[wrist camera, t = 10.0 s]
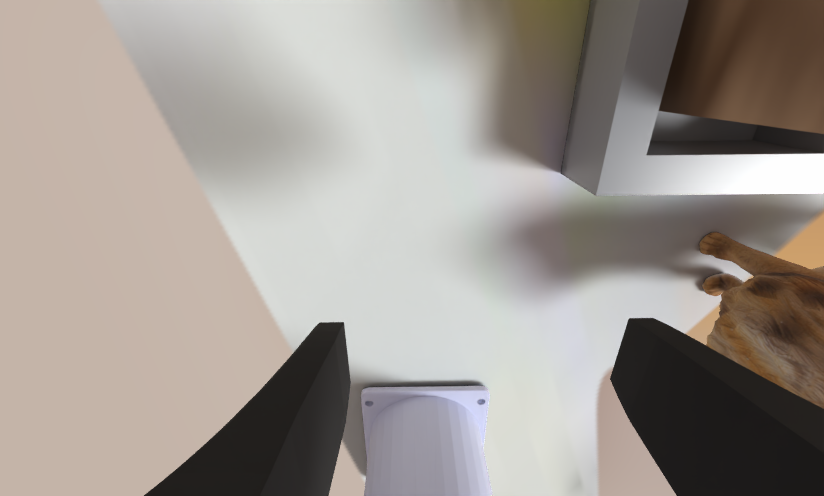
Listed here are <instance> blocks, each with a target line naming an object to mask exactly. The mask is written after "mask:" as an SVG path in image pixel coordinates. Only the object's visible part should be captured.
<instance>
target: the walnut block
mask: <svg viewBox="0 0 824 496" xmlns="http://www.w3.org/2000/svg"><path fill="white" fill-rule="evenodd" d="M659 111H662V112H669V113H676V114H684V115H691V116H698V117H705V118H712V119H720V120H727V121H734V122H741V123H748V124H756V125H763V126H770V127H777V128H784V129H792V130H799V131H806V132H813V133H820V134H824V0H689V1H688V4H687V8H686V12H685V15H684V19H683V23H682V26H681V30H680V34H679V37H678V41H677V45H676V48H675V52H674V56H673V59H672V63H671V67H670V70H669V74H668V78H667V81H666V85H665V89H664V92H663V96H662V100H661V103H660V107H659Z"/></svg>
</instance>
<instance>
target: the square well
mask: <svg viewBox="0 0 824 496" xmlns="http://www.w3.org/2000/svg"><path fill="white" fill-rule="evenodd" d="M688 1H689V0H591V1H590V7H589V13H588V18H587V24H586V30H585V36H584V41H583V47H582V53H581V59H580V64H579V70H578V76H577V82H576V87H575V93H574V99H573V105H572V110H571V116H570V122H569V128H568V133H567V139H566V145H565V151H564V156H563V162H562V168H561V174H562V175H564V176H566V177H567V178H569V179H570V180H572V181H573V182H575V183H577V184H578V185H580V186H581V187H583V188H584V189H586V190H588V191H589V192H591V193H592V194H594V195H596V196H630V195H720V194H809V193H824V134H820V133H813V132H806V131H799V130H792V129H784V128H777V127H770V126H763V125H756V124H748V123H741V122H734V121H727V120H720V119H712V118H705V117H698V116H691V115H684V114H676V113H669V112H662V111H659V107H660V103H661V100H662V96H663V92H664V89H665V85H666V81H667V78H668V74H669V70H670V67H671V63H672V59H673V56H674V52H675V48H676V45H677V41H678V37H679V34H680V30H681V26H682V23H683V19H684V15H685V12H686V8H687V4H688Z"/></svg>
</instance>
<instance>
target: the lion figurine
mask: <svg viewBox="0 0 824 496" xmlns="http://www.w3.org/2000/svg"><path fill="white" fill-rule="evenodd" d="M699 247H700V252H701V253H703V254H706V255H713V256H714V257H716V258H719V259H723V260H728V261H732V262H734V263H736V264H737V265H739V266H740V267H741V268H743V269H744V270H746V271H747V272H749V273H750V274H752V275H753V276H754V277H753V278H752V279H749V280H747V281H746V282H745V283H744V282H743V281H741V280H740V279H738V278H737V277H735V276H733V275H730V274H716V275H712V276H710V277H708V278H707V279H705V281H704V283H703V285H702V287H703V289H704V290H705V292H706V293H707V294H709V295H713V296H718V295H720V294H721V293H722V294H721V297H722V301H721V302H720V312H719V315H720V318H718V320H716V321H715V325H714V328H713V331H712V332H711V334H710V335H708V336H707V345H706V346H708V347H709V348H711V349H713V350H715V351H717V352H718V353H720V354H722V355H724V356H726V357H727V358H729V359H731V360H733V361H735V362H736V363H738V364H740V365H742V366H744V367H746V368H747V369H749V370H751V371H753V372H755V373H756V374H758V375H760V376H762V377H764V378H766V379H768V380H769V381H771V382H773V383H775V384H777V385H779V386H781V387H783V388H784V389H786V390H788V391H790V392H792V393H794V394H796V395H798V396H800V397H802V398H804V399H806V400H808V401H810V402H812V403H814V404H816V405H817V406H819V407H821V408H823V409H824V266H823V267H819V268H815V269H807V268H806V267H803V266H800V265H797V264H794V263H791V262H788V261H785V260H782V259H779V258H777V257H774V256H771V255H769V254H766V253H764V252H761V251H758V250H755V249H752V248H750V247H747V246H745V245H743V244H741V243H738V242H736V241H734V240H732V239H731V238H729V237H727V236H725V235H723V234H721V233H718V232H713V233H709V234H708V235H706V236H705V237H704V238H703V239H702V240H701V242H700V244H699Z"/></svg>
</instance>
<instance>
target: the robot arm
mask: <svg viewBox="0 0 824 496" xmlns="http://www.w3.org/2000/svg"><path fill="white" fill-rule="evenodd" d="M610 380H611V382H612V384H613V387H614V389H615V391H616V393H617V396H618V398H619V400H620V402H621V404H622V406H623V408H624V410H625V412H626V414H627V416H628V418H629V420H630V422H631V423H632V425H633V427H634V428H635V430H636V431H637V433H638V435H639V436H640V438H641V439H642V441H643V443H644V444H645V446H646V448H647V449H648V451H649V453H650V454H651V456H652V457H653V459H654V460H655V462H656V464H657V465H658V467H659V468H660V470H661V471H662V473H663V475H664V476H665V478H666V479H667V481H668V483H669V484H670V486H671V487H672V489H673V490H674V492H675V493H676V495H677V496H824V409H823V408H821V407H819V406H817V405H816V404H814V403H812V402H810V401H808V400H806V399H804V398H802V397H800V396H798V395H796V394H794V393H792V392H790V391H788V390H786V389H784V388H783V387H781V386H779V385H777V384H775V383H773V382H771V381H769V380H768V379H766V378H764V377H762V376H760V375H758V374H756V373H755V372H753V371H751V370H749V369H747V368H746V367H744V366H742V365H740V364H738V363H736V362H735V361H733V360H731V359H729V358H727V357H726V356H724V355H722V354H720V353H718V352H717V351H715V350H713V349H711V348H709V347H708V346H706V345H704V344H702V343H700V342H699V341H697V340H695V339H693V338H691V337H689V336H688V335H686V334H684V333H682V332H680V331H678V330H676V329H674V328H673V327H671V326H669V325H667V324H665V323H663V322H660V321H658V320H656V319H654V318H629V320H628V323H627V326H626V330H625V333H624V336H623V339H622V342H621V346H620V349H619V352H618V355H617V358H616V361H615V365H614V368H613V371H612V374H611V378H610ZM350 383H351V382H350V373H349V364H348V355H347V346H346V338H345V329H344V322H330V323H319V324H318V325H317V326H316V327H315V328H314V329H313V330H312V331H311V333H310V334H309V335H308V336H307V337H306V339H305V340H304V341H303V342H302V343H301V345H300V346H299V347H298V348H297V349H296V351H295V352H294V353H293V354H292V355H291V356H290V358H289V359H288V360H287V361H286V362H285V363H284V364H283V366H282V367H281V368H280V369H279V370H278V371H277V372H276V373H275V374H274V376H273V377H272V378H271V379H270V380H269V381H268V382H267V383H266V384H265V386H264V387H263V388H262V389H261V390H260V391H259V392H258V393H257V394H256V395H255V396H254V397H253V398H252V399H251V400H250V401H249V402H248V403H247V404H246V405H245V406H244V407H243V408H242V409H241V410H240V411H239V412H238V413H237V414H236V415H235V416H234V417H233V418H232V419H231V420H230V421H229V422H228V423H227V424H226V425H225V426H224V427H223V428H222V429H221V430H220V431H219V432H218V433H217V434H216V435H215V436H213V437H212V438H211V439H210V440H209V441H208V442H207V443H206V444H205V445H204V446H203V447H201V448H200V449H199V450H198V451H197V452H196V453H195V454H194V455H192V456H191V457H190V458H189V459H188V460H187V461H186V462H184V463H183V464H182V465H181V466H180V467H179V468H177V469H176V470H175V471H174V472H173V473H171V474H170V475H169V476H168V477H167V478H165V479H164V480H163V481H162V482H160V483H159V484H158V485H157V486H156V487H154V488H153V489H152V490H150V491H149V492H148V493H147V494H145V495H144V496H328V495H329V491H330V487H331V482H332V478H333V474H334V470H335V466H336V461H337V457H338V453H339V449H340V444H341V440H342V436H343V432H344V427H345V423H346V416H347V408H348V400H349V392H350ZM489 397H490V394H489V390H488V388H487V387H485V386H435V387H369V388H365V389H363V390H362V393H361V405H362V415H363V425H364V435H365V446H366V456H367V472H366V482H365V492H364V496H493V493H492V488H491V483H490V478H489V474H488V469H487V464H486V459H485V454H484V449H483V447H484V439H485V431H486V422H487V414H488V406H489ZM479 399H481V400H479Z"/></svg>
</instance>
